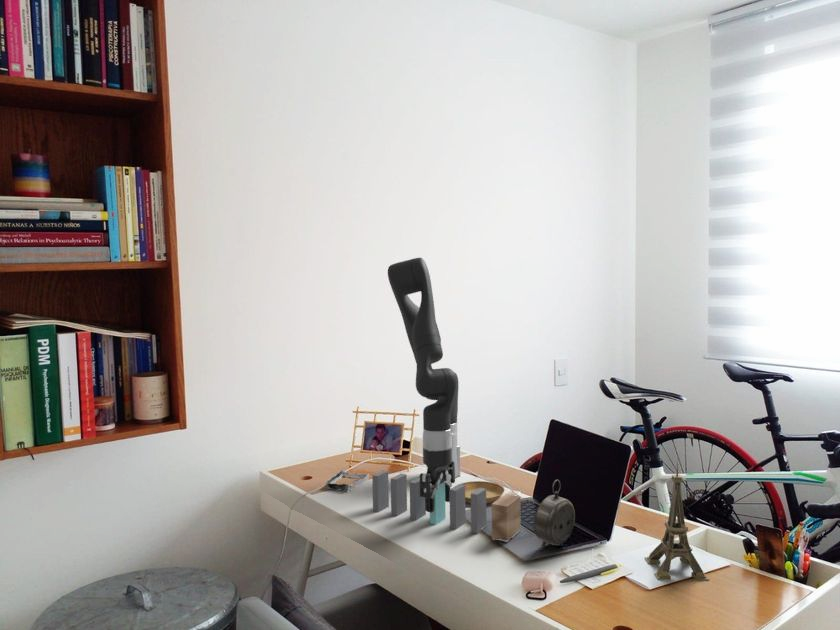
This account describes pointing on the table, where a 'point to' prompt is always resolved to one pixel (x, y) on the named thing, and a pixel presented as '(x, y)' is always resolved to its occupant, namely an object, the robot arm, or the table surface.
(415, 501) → the domino
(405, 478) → the domino
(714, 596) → the table surface
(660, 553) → the eiffel tower
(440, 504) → the domino
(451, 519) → the domino
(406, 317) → the robot arm
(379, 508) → the domino
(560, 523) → the alarm clock
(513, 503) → the end block
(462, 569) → the table surface
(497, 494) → the plant saucer
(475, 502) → the domino
